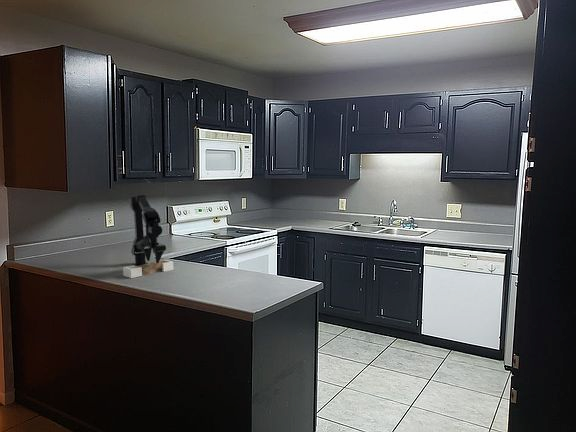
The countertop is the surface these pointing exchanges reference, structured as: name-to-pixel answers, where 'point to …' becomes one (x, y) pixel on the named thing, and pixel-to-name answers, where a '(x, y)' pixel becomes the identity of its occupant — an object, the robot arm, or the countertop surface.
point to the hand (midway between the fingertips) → (152, 262)
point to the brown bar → (152, 267)
